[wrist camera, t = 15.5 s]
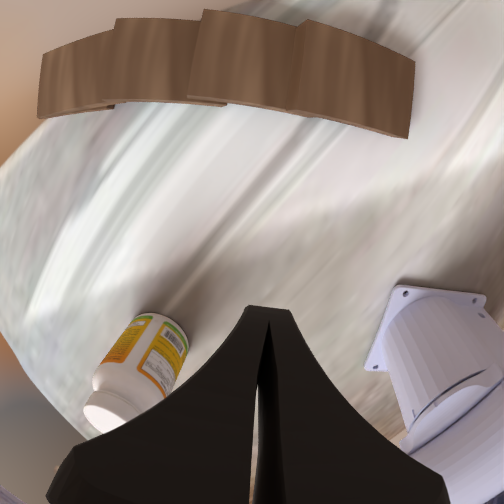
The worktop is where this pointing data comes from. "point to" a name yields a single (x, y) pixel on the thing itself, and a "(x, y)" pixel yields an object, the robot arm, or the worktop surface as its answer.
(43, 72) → the domino
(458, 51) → the worktop surface
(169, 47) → the domino
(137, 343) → the supplement bottle
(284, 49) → the domino
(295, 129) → the worktop surface
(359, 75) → the domino
